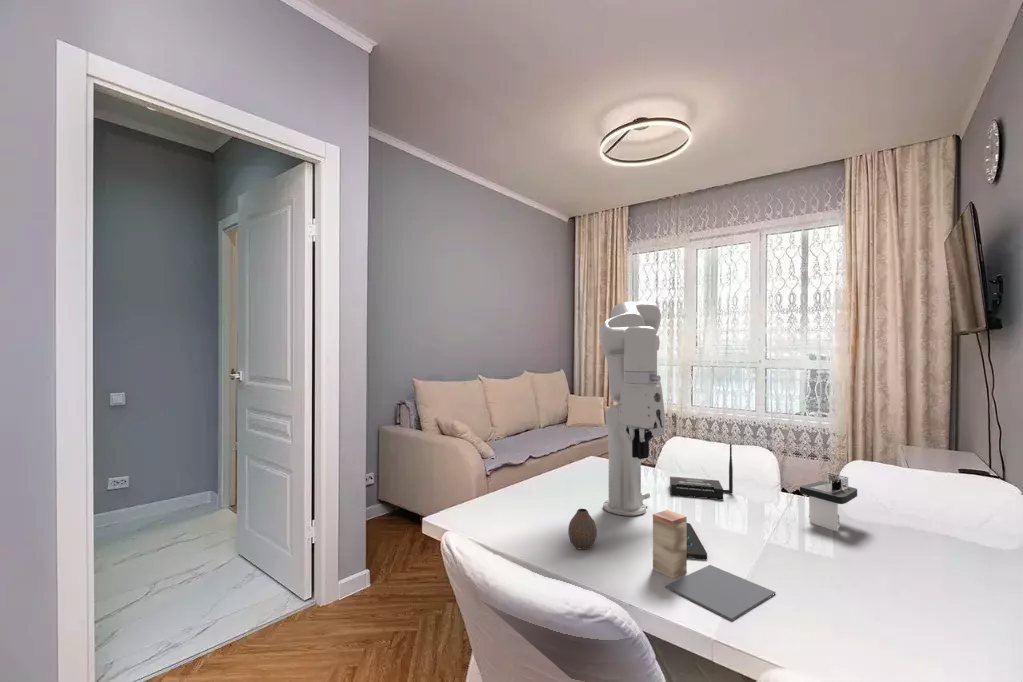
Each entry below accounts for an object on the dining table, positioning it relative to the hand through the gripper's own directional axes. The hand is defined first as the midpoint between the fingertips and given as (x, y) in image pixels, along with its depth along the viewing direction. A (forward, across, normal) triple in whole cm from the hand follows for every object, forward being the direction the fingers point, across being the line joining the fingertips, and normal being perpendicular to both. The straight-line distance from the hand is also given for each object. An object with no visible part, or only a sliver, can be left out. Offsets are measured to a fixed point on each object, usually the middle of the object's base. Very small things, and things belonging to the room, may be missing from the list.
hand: (640, 457), depth 108 cm
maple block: (+23, -8, 0) cm, 24 cm away
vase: (+23, +12, +7) cm, 27 cm away
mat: (+23, -19, -1) cm, 30 cm away
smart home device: (+24, 0, -16) cm, 29 cm away
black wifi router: (+24, +20, -56) cm, 64 cm away
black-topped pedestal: (+24, -17, -61) cm, 68 cm away
